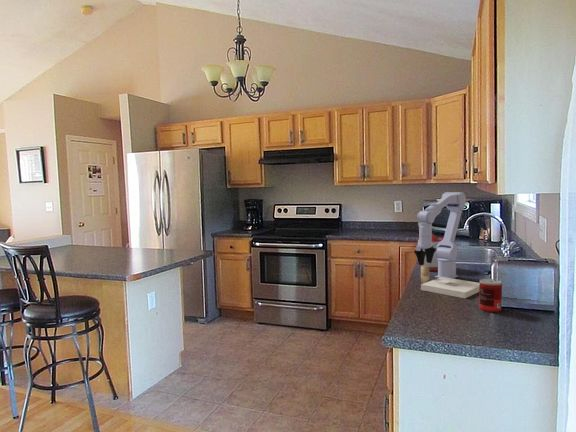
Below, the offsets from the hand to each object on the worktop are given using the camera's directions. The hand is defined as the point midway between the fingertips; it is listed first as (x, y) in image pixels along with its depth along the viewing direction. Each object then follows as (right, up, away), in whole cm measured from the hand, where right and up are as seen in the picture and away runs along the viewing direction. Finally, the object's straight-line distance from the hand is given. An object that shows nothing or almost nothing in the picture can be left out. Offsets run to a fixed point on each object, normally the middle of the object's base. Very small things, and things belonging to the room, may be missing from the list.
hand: (425, 263), depth 195 cm
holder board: (+8, -10, -12) cm, 18 cm away
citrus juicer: (+15, -7, +32) cm, 36 cm away
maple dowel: (0, -9, +1) cm, 9 cm away
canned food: (+11, -13, -41) cm, 44 cm away
